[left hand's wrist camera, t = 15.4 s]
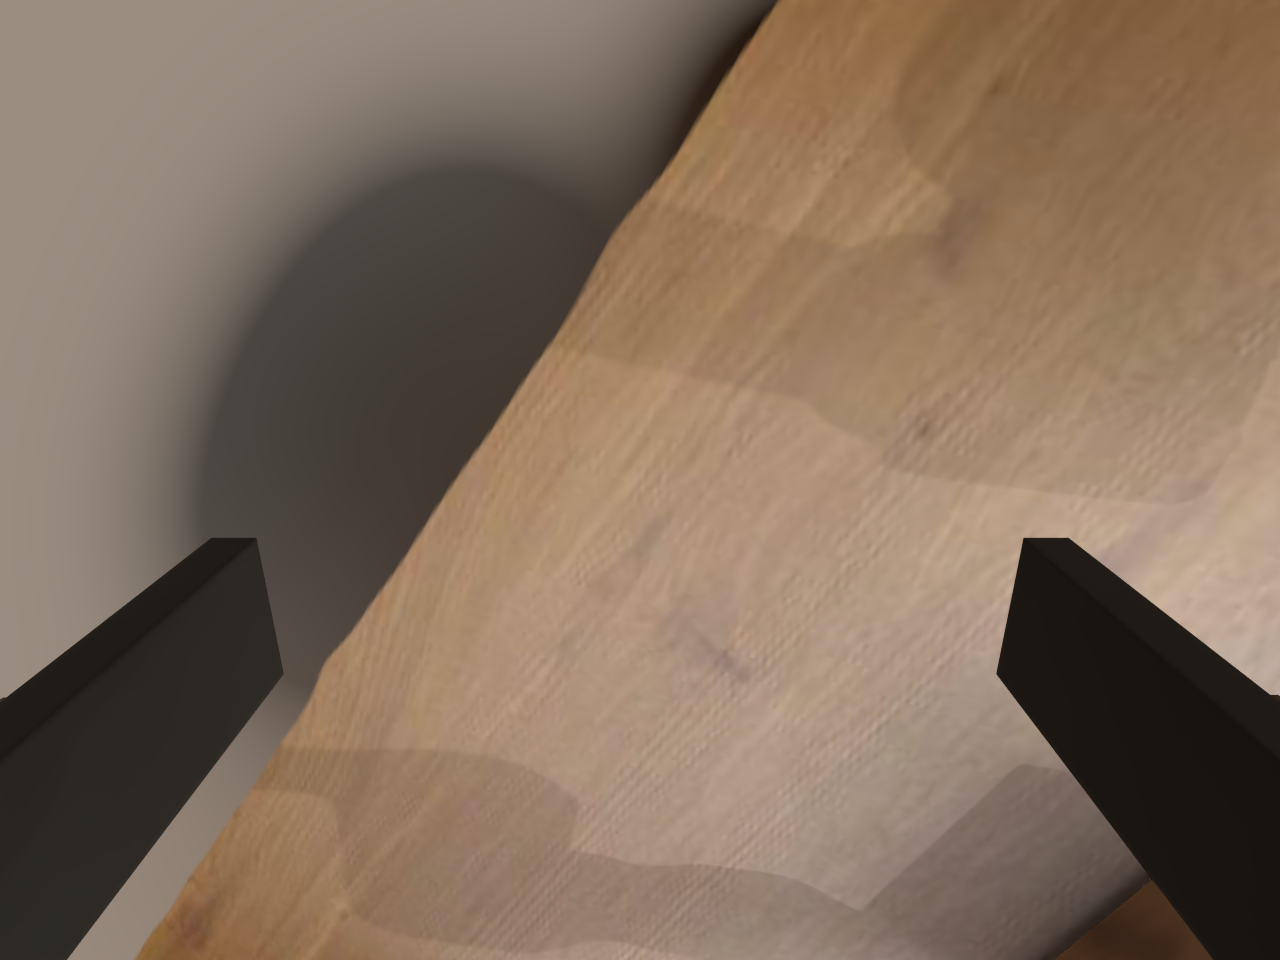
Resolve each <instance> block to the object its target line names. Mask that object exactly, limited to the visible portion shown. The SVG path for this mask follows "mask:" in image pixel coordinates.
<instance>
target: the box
mask: <svg viewBox="0 0 1280 960" xmlns="http://www.w3.org/2000/svg"><path fill="white" fill-rule="evenodd" d="M1054 960H1213V959H1212V957H1211V956H1210V955H1209V954H1208V952H1207V951H1206V950H1205V948H1204V947H1203V946H1202V944H1201V943H1200V942H1199V940H1198V939H1197V938H1196V936H1195V935H1194V934H1193V932H1192V931H1191V930H1190V929H1189V927H1188V926H1187V925H1186V923H1185V922H1184V921H1183V919H1182V918H1181V917H1180V915H1179V914H1178V913H1177V911H1176V910H1175V909H1174V907H1173V906H1172V905H1171V903H1170V902H1169V901H1168V900H1167V898H1166V897H1165V896H1164V894H1163V893H1162V892H1161V890H1160V889H1159V888H1158V886H1157V885H1156V884H1155V882H1154V881H1153V880H1151V881H1150V882H1149V883H1147V884H1146V885H1145V886H1144V887H1142V888H1141V889H1140V890H1139V891H1138V892H1136V893H1135V894H1134V895H1133V896H1131V897H1130V898H1129V899H1128V900H1127V901H1125V902H1124V903H1123V904H1122V905H1120V906H1119V907H1118V908H1117V909H1116V910H1114V911H1113V912H1112V913H1111V914H1109V915H1108V916H1107V917H1106V918H1104V919H1103V920H1102V921H1101V922H1100V923H1098V924H1097V925H1096V926H1095V927H1093V928H1092V929H1091V930H1090V931H1089V932H1087V933H1086V934H1085V935H1084V936H1082V937H1081V938H1080V939H1079V940H1078V941H1076V942H1075V943H1074V944H1073V945H1071V946H1070V947H1069V948H1068V949H1066V950H1065V951H1064V952H1063V953H1062V954H1060V955H1059V956H1058V957H1057V958H1055V959H1054Z"/></svg>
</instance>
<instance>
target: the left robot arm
mask: <svg viewBox="0 0 1280 960" xmlns="http://www.w3.org/2000/svg"><path fill="white" fill-rule="evenodd" d="M996 674H997V676H998V677H999V678H1000V679H1001V681H1002V682H1003V683H1004V685H1005V686H1006V687H1007V689H1008V690H1009V691H1010V693H1011V694H1012V695H1013V697H1014V698H1015V699H1016V701H1017V702H1018V703H1019V705H1020V706H1021V707H1022V708H1023V710H1024V711H1025V712H1026V714H1027V715H1028V716H1029V718H1030V719H1031V720H1032V722H1033V723H1034V724H1035V726H1036V727H1037V728H1038V730H1039V731H1040V732H1041V734H1042V735H1043V736H1044V737H1045V739H1046V740H1047V741H1048V743H1049V744H1050V745H1051V747H1052V748H1053V749H1054V751H1055V752H1056V753H1057V755H1058V756H1059V757H1060V759H1061V760H1062V761H1063V762H1064V764H1065V765H1066V766H1067V768H1068V769H1069V770H1070V772H1071V773H1072V774H1073V776H1074V777H1075V778H1076V780H1077V781H1078V782H1079V784H1080V785H1081V786H1082V788H1083V789H1084V790H1085V791H1086V793H1087V794H1088V795H1089V797H1090V798H1091V799H1092V801H1093V802H1094V803H1095V805H1096V806H1097V807H1098V809H1099V810H1100V811H1101V813H1102V814H1103V815H1104V817H1105V818H1106V819H1107V820H1108V822H1109V823H1110V824H1111V826H1112V827H1113V828H1114V830H1115V831H1116V832H1117V834H1118V835H1119V836H1120V838H1121V839H1122V840H1123V842H1124V843H1125V844H1126V846H1127V847H1128V848H1129V849H1130V851H1131V852H1132V853H1133V855H1134V856H1135V857H1136V859H1137V860H1138V861H1139V863H1140V864H1141V865H1142V867H1143V868H1144V869H1145V871H1146V872H1147V873H1148V874H1149V876H1150V877H1151V878H1152V880H1153V881H1154V882H1155V884H1156V885H1157V886H1158V888H1159V889H1160V890H1161V892H1162V893H1163V894H1164V896H1165V897H1166V898H1167V900H1168V901H1169V902H1170V903H1171V905H1172V906H1173V907H1174V909H1175V910H1176V911H1177V913H1178V914H1179V915H1180V917H1181V918H1182V919H1183V921H1184V922H1185V923H1186V925H1187V926H1188V927H1189V929H1190V930H1191V931H1192V932H1193V934H1194V935H1195V936H1196V938H1197V939H1198V940H1199V942H1200V943H1201V944H1202V946H1203V947H1204V948H1205V950H1206V951H1207V952H1208V954H1209V955H1210V956H1211V957H1212V959H1213V960H1280V696H1279V695H1270V694H1268V693H1267V692H1266V691H1265V690H1263V689H1262V688H1261V687H1259V686H1258V685H1257V684H1256V683H1254V682H1253V681H1252V680H1250V679H1249V678H1248V677H1247V676H1245V675H1244V674H1243V673H1241V672H1240V671H1239V670H1238V669H1236V668H1235V667H1234V666H1232V665H1231V664H1230V663H1229V662H1227V661H1226V660H1225V659H1223V658H1222V657H1221V656H1220V655H1218V654H1217V653H1216V652H1214V651H1213V650H1212V649H1211V648H1209V647H1208V646H1207V645H1205V644H1204V643H1203V642H1202V641H1200V640H1199V639H1198V638H1196V637H1195V636H1194V635H1193V634H1191V633H1190V632H1189V631H1187V630H1186V629H1185V628H1184V627H1182V626H1181V625H1180V624H1178V623H1177V622H1176V621H1175V620H1173V619H1172V618H1171V617H1169V616H1168V615H1167V614H1166V613H1164V612H1163V611H1162V610H1160V609H1159V608H1158V607H1157V606H1155V605H1154V604H1153V603H1151V602H1150V601H1149V600H1148V599H1146V598H1145V597H1144V596H1142V595H1141V594H1140V593H1139V592H1137V591H1136V590H1135V589H1133V588H1132V587H1131V586H1130V585H1128V584H1127V583H1126V582H1124V581H1123V580H1122V579H1121V578H1119V577H1118V576H1117V575H1115V574H1114V573H1113V572H1112V571H1110V570H1109V569H1108V568H1106V567H1105V566H1104V565H1103V564H1101V563H1100V562H1099V561H1097V560H1096V559H1095V558H1094V557H1092V556H1091V555H1090V554H1088V553H1087V552H1086V551H1085V550H1083V549H1082V548H1081V547H1079V546H1078V545H1077V544H1076V543H1074V542H1073V541H1072V540H1070V539H1069V538H1024V539H1023V544H1022V549H1021V554H1020V559H1019V564H1018V569H1017V573H1016V578H1015V583H1014V588H1013V593H1012V598H1011V603H1010V608H1009V613H1008V618H1007V623H1006V628H1005V633H1004V638H1003V643H1002V648H1001V653H1000V658H999V663H998V668H997V673H996ZM282 676H283V668H282V663H281V658H280V653H279V648H278V643H277V638H276V633H275V628H274V623H273V618H272V613H271V608H270V603H269V598H268V593H267V588H266V583H265V578H264V574H263V569H262V564H261V559H260V554H259V549H258V544H257V539H256V538H211V539H210V540H208V541H207V542H206V543H204V544H203V545H202V546H201V547H199V548H198V549H197V550H195V551H194V552H193V553H192V554H190V555H189V556H188V557H186V558H185V559H184V560H183V561H181V562H180V563H179V564H177V565H176V566H175V567H174V568H172V569H171V570H170V571H168V572H167V573H166V574H165V575H163V576H162V577H161V578H159V579H158V580H157V581H156V582H154V583H153V584H152V585H150V586H149V587H148V588H147V589H145V590H144V591H143V592H141V593H140V594H139V595H138V596H136V597H135V598H134V599H132V600H131V601H130V602H129V603H127V604H126V605H125V606H123V607H122V608H121V609H120V610H118V611H117V612H116V613H114V614H113V615H112V616H111V617H109V618H108V619H107V620H105V621H104V622H103V623H102V624H100V625H99V626H98V627H96V628H95V629H94V630H93V631H91V632H90V633H89V634H87V635H86V636H85V637H84V638H82V639H81V640H80V641H78V642H77V643H76V644H75V645H73V646H72V647H71V648H70V649H68V650H67V651H66V652H64V653H63V654H62V655H60V656H59V657H58V658H57V659H55V660H54V661H53V662H51V663H50V664H49V665H48V666H46V667H45V668H44V669H42V670H41V671H40V672H39V673H37V674H36V675H35V676H33V677H32V678H31V679H30V680H28V681H27V682H26V683H24V684H23V685H22V686H21V687H19V688H18V689H17V690H16V691H14V692H13V693H12V694H10V695H9V696H8V697H6V698H2V699H0V960H67V959H68V957H69V956H70V955H71V953H72V952H73V951H74V950H75V948H76V947H77V946H78V944H79V943H80V942H81V940H82V939H83V938H84V936H85V935H86V934H87V932H88V931H89V930H90V929H91V927H92V926H93V925H94V923H95V922H96V921H97V919H98V918H99V917H100V915H101V914H102V913H103V911H104V910H105V909H106V907H107V906H108V905H109V903H110V902H111V901H112V899H113V898H114V897H115V896H116V894H117V893H118V892H119V890H120V889H121V888H122V886H123V885H124V884H125V882H126V881H127V880H128V878H129V877H130V876H131V874H132V873H133V872H134V871H135V869H136V868H137V866H138V865H139V864H140V863H141V861H142V860H143V859H144V857H145V856H146V855H147V853H148V852H149V851H150V849H151V848H152V847H153V845H154V844H155V843H156V842H157V840H158V839H159V838H160V836H161V835H162V834H163V832H164V831H165V830H166V828H167V827H168V826H169V824H170V823H171V822H172V820H173V819H174V818H175V817H176V815H177V814H178V813H179V811H180V810H181V809H182V807H183V806H184V805H185V803H186V802H187V801H188V799H189V798H190V797H191V795H192V794H193V793H194V791H195V790H196V789H197V787H198V786H199V785H200V784H201V782H202V781H203V780H204V778H205V777H206V776H207V774H208V773H209V772H210V770H211V769H212V768H213V766H214V765H215V764H216V762H217V761H218V760H219V758H220V757H221V756H222V755H223V753H224V752H225V751H226V749H227V748H228V747H229V745H230V744H231V743H232V741H233V740H234V739H235V737H236V736H237V735H238V734H239V732H240V731H241V730H242V728H243V727H244V726H245V724H246V723H247V722H248V720H249V719H250V718H251V716H252V715H253V714H254V712H255V711H256V710H257V708H258V707H259V706H260V705H261V703H262V702H263V701H264V699H265V698H266V697H267V695H268V694H269V693H270V691H271V690H272V689H273V687H274V686H275V685H276V683H277V682H278V681H279V679H280V678H281V677H282Z"/></svg>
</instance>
